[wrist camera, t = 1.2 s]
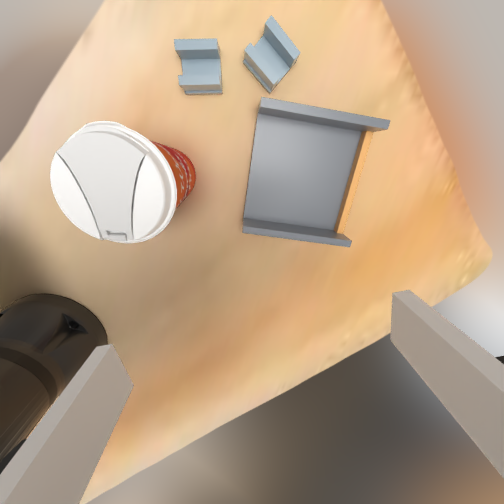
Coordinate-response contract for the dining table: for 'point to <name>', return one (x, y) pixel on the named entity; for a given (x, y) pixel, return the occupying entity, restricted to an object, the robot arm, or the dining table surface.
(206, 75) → the clip
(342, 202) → the end holder
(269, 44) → the clip
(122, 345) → the dining table surface
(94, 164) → the coffee cup
